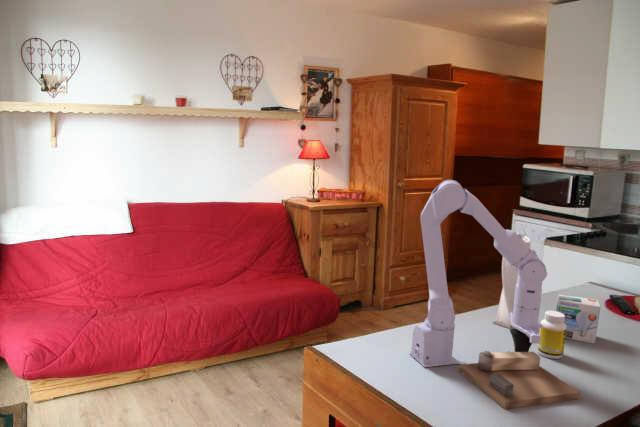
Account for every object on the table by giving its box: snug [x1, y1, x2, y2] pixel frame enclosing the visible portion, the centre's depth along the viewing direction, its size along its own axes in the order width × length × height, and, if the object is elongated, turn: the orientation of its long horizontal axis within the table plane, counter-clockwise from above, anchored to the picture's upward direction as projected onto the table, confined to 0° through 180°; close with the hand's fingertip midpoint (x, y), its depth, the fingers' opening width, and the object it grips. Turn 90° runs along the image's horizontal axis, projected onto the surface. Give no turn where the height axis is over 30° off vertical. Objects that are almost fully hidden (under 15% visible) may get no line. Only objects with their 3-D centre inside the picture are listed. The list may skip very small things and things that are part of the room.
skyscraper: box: [492, 236, 531, 330], centre depth 151 cm, size 8×8×28 cm
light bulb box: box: [555, 293, 602, 344], centre depth 145 cm, size 11×7×11 cm, turn 68°
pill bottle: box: [536, 310, 567, 360], centre depth 131 cm, size 6×6×11 cm
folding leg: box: [477, 350, 541, 371], centre depth 120 cm, size 14×3×4 cm, turn 98°
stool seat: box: [458, 362, 581, 410], centre depth 115 cm, size 19×17×4 cm
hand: (520, 359), depth 123 cm, fingers closed, pressing on folding leg
